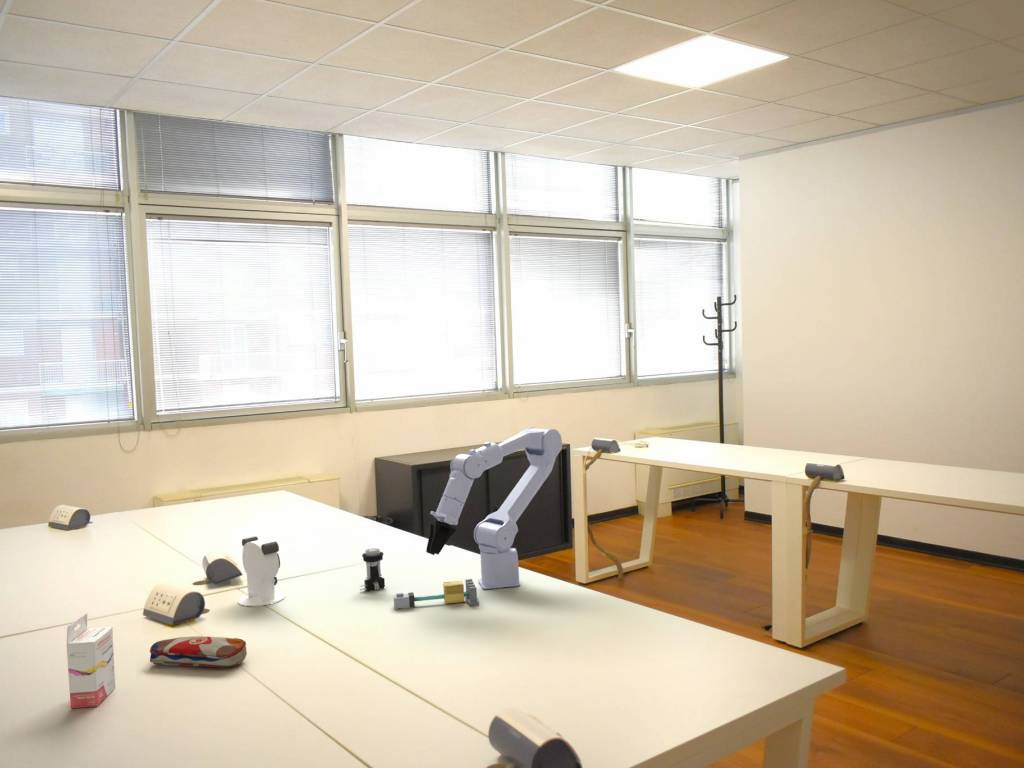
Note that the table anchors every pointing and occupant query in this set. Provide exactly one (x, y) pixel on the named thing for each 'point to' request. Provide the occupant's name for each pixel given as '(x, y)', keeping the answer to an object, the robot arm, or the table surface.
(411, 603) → the band
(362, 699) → the table surface
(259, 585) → the panda figurine
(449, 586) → the marker sleeve
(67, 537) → the table surface
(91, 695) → the ink cartridge box
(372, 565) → the push button
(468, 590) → the cable comb
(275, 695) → the table surface
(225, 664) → the pencil case
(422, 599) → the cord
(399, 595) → the connector
